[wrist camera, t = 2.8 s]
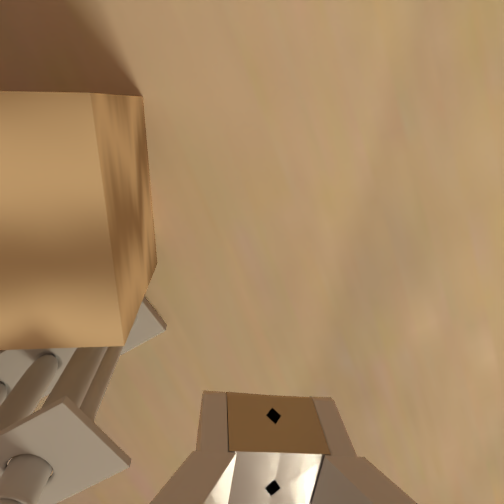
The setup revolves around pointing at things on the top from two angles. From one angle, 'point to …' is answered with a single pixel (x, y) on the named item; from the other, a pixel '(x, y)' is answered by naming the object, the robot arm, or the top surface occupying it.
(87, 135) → the oak block
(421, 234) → the top surface
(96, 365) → the test tube rack
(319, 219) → the top surface
